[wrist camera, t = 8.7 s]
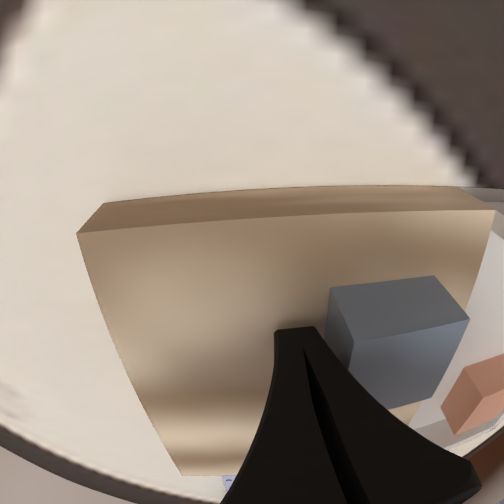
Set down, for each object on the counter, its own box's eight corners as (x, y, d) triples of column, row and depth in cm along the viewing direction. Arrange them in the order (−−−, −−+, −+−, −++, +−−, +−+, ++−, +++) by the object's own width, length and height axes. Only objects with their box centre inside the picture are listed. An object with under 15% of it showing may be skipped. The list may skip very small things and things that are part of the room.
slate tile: (408, 353, 12) (431, 397, 10) (319, 369, 12) (334, 421, 10) (434, 275, 10) (470, 318, 8) (330, 287, 10) (354, 342, 8)
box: (475, 392, 20) (495, 428, 16) (382, 422, 20) (398, 467, 16) (559, 193, 12) (605, 223, 8) (458, 186, 11) (521, 228, 8)
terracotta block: (482, 391, 17) (496, 416, 15) (440, 406, 17) (454, 435, 15) (506, 352, 15) (525, 378, 13) (463, 367, 15) (483, 398, 13)
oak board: (382, 422, 20) (392, 449, 17) (183, 444, 19) (181, 475, 17) (458, 186, 11) (495, 210, 9) (103, 203, 11) (76, 233, 9)
